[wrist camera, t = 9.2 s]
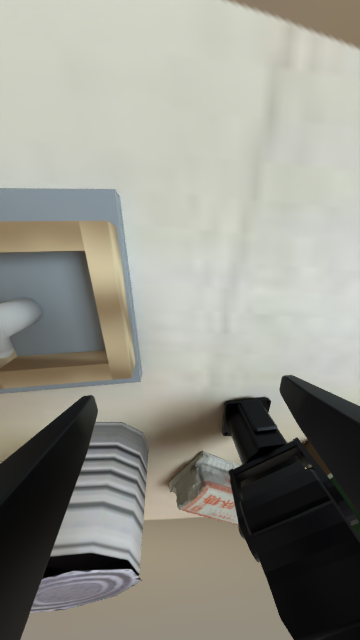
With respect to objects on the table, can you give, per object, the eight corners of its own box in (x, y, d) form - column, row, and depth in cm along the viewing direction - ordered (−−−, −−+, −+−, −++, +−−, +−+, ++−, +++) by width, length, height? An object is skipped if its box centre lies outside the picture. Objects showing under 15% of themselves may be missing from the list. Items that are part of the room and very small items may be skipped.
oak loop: (135, 362, 18) (131, 378, 16) (5, 372, 17) (-19, 390, 15) (116, 226, 13) (107, 220, 11) (-66, 227, 12) (-116, 222, 10)
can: (137, 412, 23) (113, 562, 12) (157, 462, 27) (153, 607, 16) (53, 430, 23) (-52, 602, 12) (86, 478, 27) (32, 637, 16)
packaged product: (167, 520, 25) (209, 484, 23) (166, 480, 30) (201, 446, 28) (249, 538, 31) (290, 510, 28) (238, 502, 35) (272, 475, 33)
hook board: (142, 373, 21) (135, 413, 15) (-1, 384, 19) (-61, 432, 14) (119, 195, 14) (94, 161, 9) (-100, 194, 13) (-281, 153, 7)
